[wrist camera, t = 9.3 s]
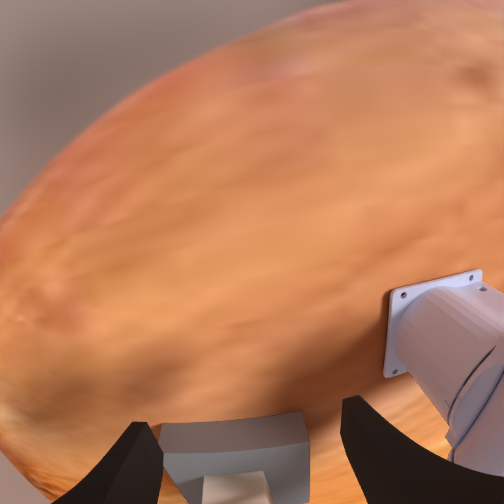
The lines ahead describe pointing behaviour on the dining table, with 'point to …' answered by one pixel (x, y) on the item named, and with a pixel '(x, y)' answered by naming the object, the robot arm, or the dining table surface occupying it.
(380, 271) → the dining table surface
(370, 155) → the dining table surface
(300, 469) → the charcoal box
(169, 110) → the dining table surface
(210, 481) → the birch block
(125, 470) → the robot arm
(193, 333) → the dining table surface
